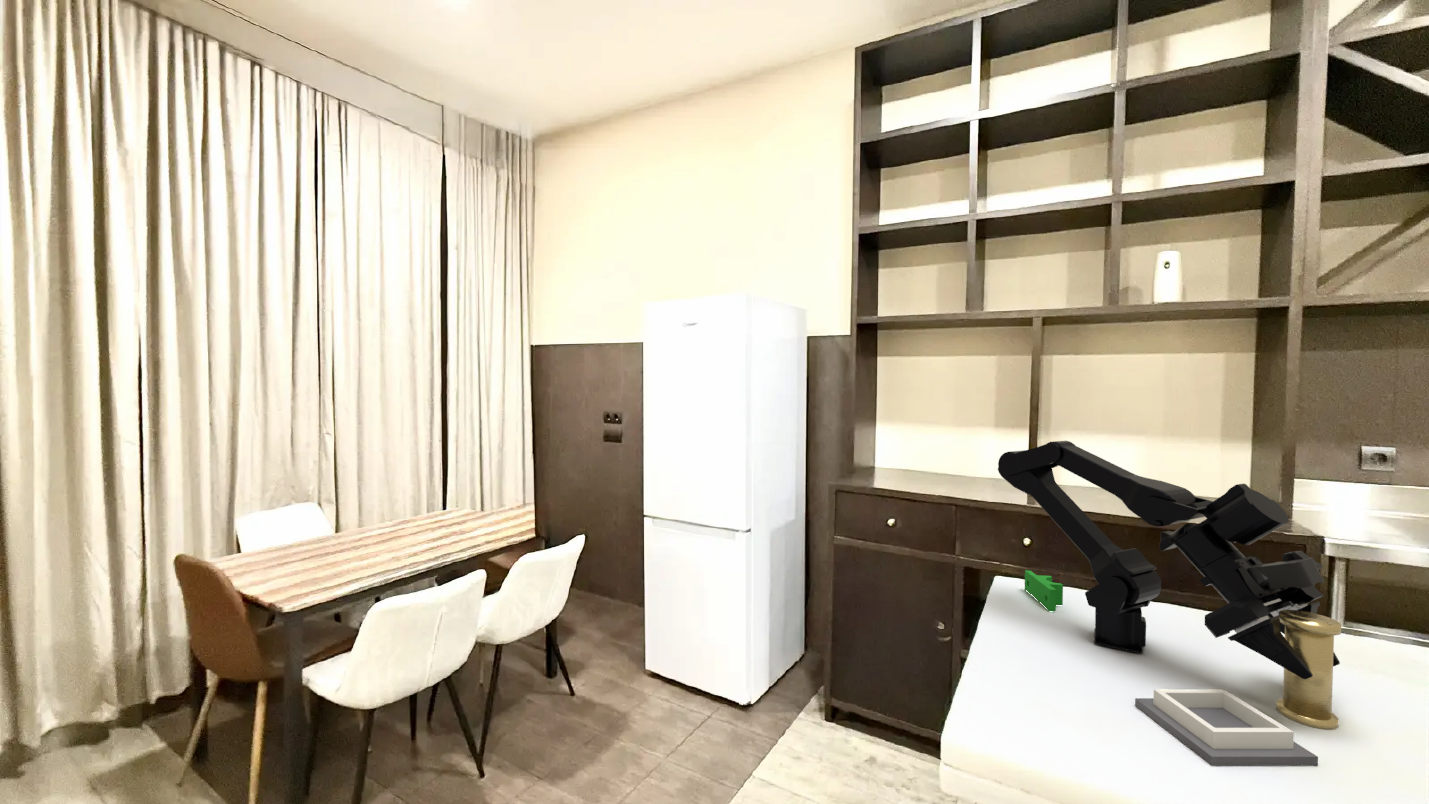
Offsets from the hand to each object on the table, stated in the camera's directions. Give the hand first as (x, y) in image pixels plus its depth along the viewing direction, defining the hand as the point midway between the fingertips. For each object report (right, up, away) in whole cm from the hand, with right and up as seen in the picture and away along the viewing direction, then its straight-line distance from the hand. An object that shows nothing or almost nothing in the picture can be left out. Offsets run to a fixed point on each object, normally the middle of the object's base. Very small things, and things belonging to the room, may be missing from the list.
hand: (1322, 671), depth 73 cm
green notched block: (-12, -6, +41) cm, 43 cm away
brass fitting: (-1, -7, +1) cm, 7 cm away
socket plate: (-15, -7, -2) cm, 17 cm away
